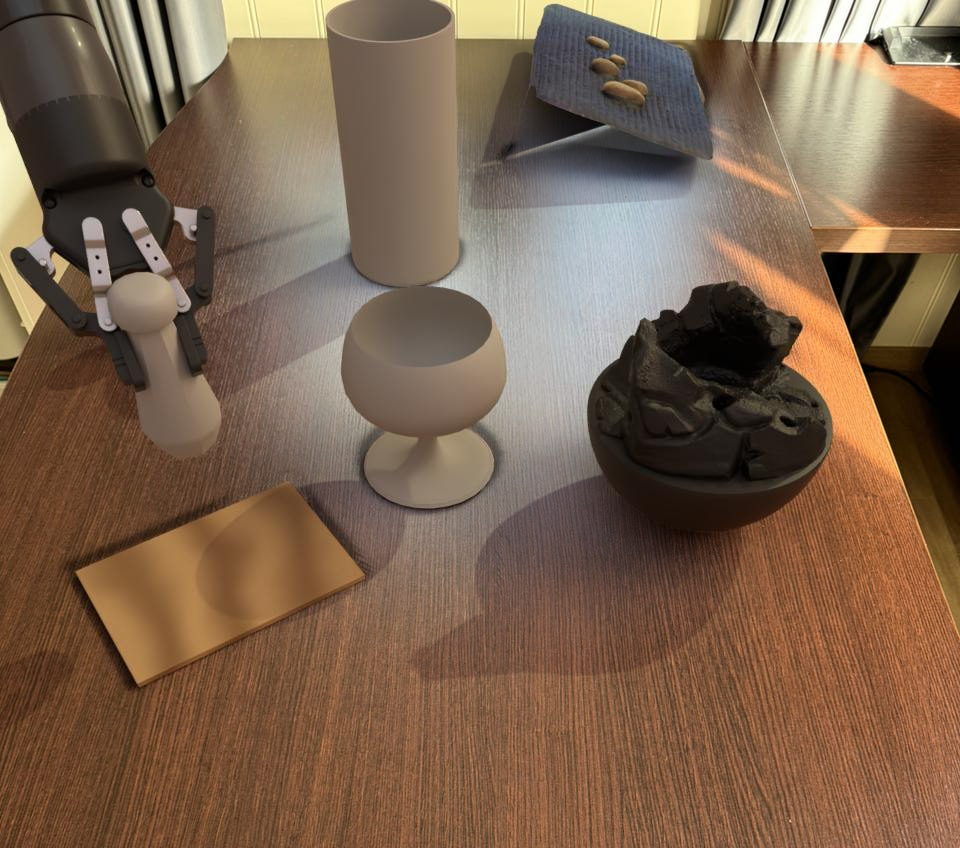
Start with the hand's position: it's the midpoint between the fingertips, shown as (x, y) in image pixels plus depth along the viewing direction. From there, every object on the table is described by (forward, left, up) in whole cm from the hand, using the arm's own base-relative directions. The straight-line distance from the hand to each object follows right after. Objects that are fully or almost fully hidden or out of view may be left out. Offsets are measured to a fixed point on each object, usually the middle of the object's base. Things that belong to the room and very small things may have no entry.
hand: (169, 380), depth 63 cm
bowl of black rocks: (+38, -15, -20) cm, 46 cm away
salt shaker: (0, +2, -7) cm, 7 cm away
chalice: (+21, +2, -20) cm, 29 cm away
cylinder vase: (+38, +34, -20) cm, 55 cm away
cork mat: (-1, 0, -20) cm, 20 cm away
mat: (+84, +53, -20) cm, 102 cm away
